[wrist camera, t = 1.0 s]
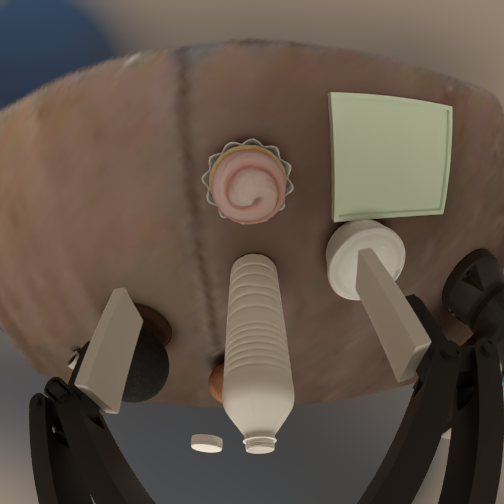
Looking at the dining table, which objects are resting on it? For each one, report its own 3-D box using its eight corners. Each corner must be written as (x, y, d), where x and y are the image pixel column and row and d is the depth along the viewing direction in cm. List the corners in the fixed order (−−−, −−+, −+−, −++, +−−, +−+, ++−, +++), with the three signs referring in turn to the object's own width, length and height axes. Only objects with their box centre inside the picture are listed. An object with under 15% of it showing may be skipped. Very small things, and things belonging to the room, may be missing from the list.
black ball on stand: (101, 324, 45) (73, 387, 32) (124, 285, 40) (88, 358, 27) (158, 357, 49) (142, 422, 36) (191, 326, 44) (177, 403, 31)
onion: (268, 360, 49) (271, 404, 41) (242, 380, 53) (241, 421, 45) (226, 343, 47) (223, 390, 38) (202, 366, 50) (197, 409, 42)
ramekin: (353, 289, 41) (363, 312, 36) (302, 255, 37) (310, 278, 33) (402, 239, 36) (419, 258, 32) (357, 194, 33) (373, 210, 28)
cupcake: (229, 219, 34) (223, 263, 26) (195, 153, 30) (173, 176, 21) (298, 191, 32) (317, 227, 24) (270, 121, 28) (280, 129, 19)
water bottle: (280, 255, 37) (312, 438, 16) (272, 292, 40) (289, 459, 19) (216, 247, 36) (188, 435, 15) (213, 285, 40) (192, 455, 18)
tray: (446, 105, 25) (452, 106, 24) (438, 210, 33) (443, 214, 32) (327, 92, 26) (330, 92, 25) (331, 217, 34) (334, 222, 33)
